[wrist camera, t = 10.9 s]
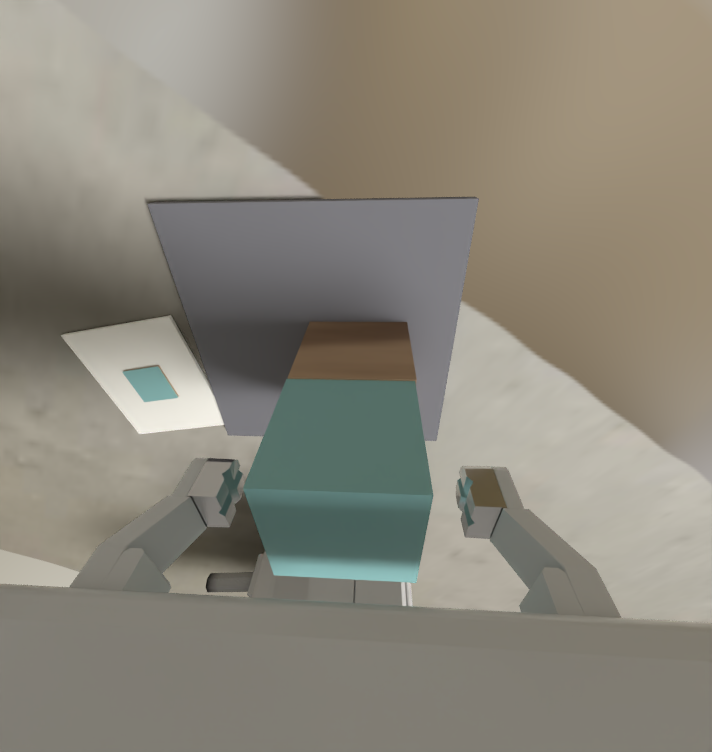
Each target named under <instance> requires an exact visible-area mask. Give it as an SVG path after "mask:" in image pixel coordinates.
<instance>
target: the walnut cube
mask: <svg viewBox="0 0 712 752" xmlns="http://www.w3.org/2000/svg"><path fill="white" fill-rule="evenodd" d="M288 379H324V380H380V381H415V384H416V381H417V378H416V372H415V366H414V360H413V354H412V348H411V342H410V336H409V330H408V324H407V322H309V325H308V327H307V330H306V332H305V335H304V337H303V340H302V342H301V345H300V348H299V350H298V353H297V355H296V358H295V360H294V363H293V365H292V368H291V370H290V373H289V375H288Z"/></svg>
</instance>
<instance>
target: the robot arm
mask: <svg viewBox="0 0 712 752" xmlns="http://www.w3.org/2000/svg"><path fill="white" fill-rule="evenodd" d="M239 467H240V464H239V462H238V460H232V459H215V458H195V459H194V460H193V461H192V462H191V464H190V466H189V467H188V469H187V471H186V472H185V474H184V476H183V477H182V479H181V481H180V482H179V484H178V486H177V487H176V489H175V491H174V492H173V494H172V496H167V497H165V498H164V499H162V500H161V501H160V502H158V503H157V504H155V505H154V506H153V507H151V508H150V509H148V510H147V511H146V512H144V513H143V514H142V515H140V516H139V517H137V518H136V519H135V520H133V521H132V522H130V523H129V524H128V525H126V526H125V527H123V528H122V529H121V530H119V531H118V532H116V533H115V534H114V535H112V536H111V537H109V538H108V539H107V540H105V541H104V542H102V543H101V544H100V545H99V546H98V547H97V549H96V550H95V551H94V553H93V554H92V556H91V557H90V558H89V560H88V561H87V563H86V564H85V566H84V567H83V568H82V570H81V571H80V573H79V574H78V575H77V577H76V578H75V580H74V581H73V583H72V584H71V585H70V587H50V586H32V585H14V584H13V585H12V584H0V752H712V623H706V622H688V621H670V620H652V619H633V618H621V616H620V614H619V612H618V610H617V608H616V606H615V604H614V602H613V600H612V598H611V596H610V594H609V593H608V591H607V589H606V587H605V585H604V583H603V581H602V579H601V577H600V575H599V573H598V571H597V569H596V568H595V567H594V566H593V565H591V564H590V563H589V562H588V561H587V560H586V559H585V558H583V557H582V556H581V555H580V554H579V553H578V552H577V551H576V550H574V549H573V548H572V547H571V546H570V545H569V544H568V543H567V542H565V541H564V540H563V539H562V538H561V537H560V536H559V535H557V534H556V533H555V532H554V531H553V530H552V529H551V528H550V527H548V526H547V525H546V524H545V523H544V522H543V521H542V520H541V519H539V518H538V517H537V516H536V515H535V514H534V513H533V512H532V511H530V510H529V509H524V506H523V504H522V502H521V499H520V497H519V494H518V492H517V490H516V487H515V485H514V482H513V480H512V478H511V475H510V473H509V470H508V469H507V468H506V467H490V466H462V467H461V468H460V472H459V473H460V477H461V478H460V479H459V480H458V481H457V485H456V499H457V504H458V508H459V509H460V510H461V511H462V512H463V513H462V516H461V522H462V527H463V531H464V535H465V537H469V538H483V539H490V541H491V542H492V543H493V545H494V546H495V547H496V548H497V550H498V551H499V552H500V553H501V555H502V556H503V557H504V558H505V560H506V561H507V562H508V563H509V565H510V566H511V567H512V568H513V570H514V571H515V572H516V573H517V575H518V576H519V577H520V578H521V579H522V581H523V582H524V583H525V584H526V586H527V587H528V588H529V589H530V590H529V591H528V593H527V595H526V596H525V598H524V599H523V601H522V602H521V604H520V605H519V606H520V610H521V612H506V611H488V610H470V609H451V608H433V607H415V606H397V605H379V604H361V603H343V602H325V601H306V600H288V599H270V598H252V597H233V596H215V595H197V594H179V593H169V590H170V588H171V586H170V583H169V581H168V580H167V579H166V578H165V576H164V575H163V574H162V573H163V572H164V571H165V570H166V569H167V568H168V567H169V566H170V565H171V564H172V563H173V562H174V561H175V560H176V559H177V558H178V557H179V556H180V555H181V554H182V553H183V552H184V551H185V550H186V549H187V548H188V547H189V546H190V545H191V544H192V543H193V542H194V541H195V540H196V539H197V538H198V537H199V536H200V535H201V534H202V533H203V532H204V531H205V530H206V529H207V528H206V527H230V525H231V523H232V520H233V518H234V515H235V513H236V507H235V505H234V504H236V503H237V502H238V501H239V500H240V499H241V497H242V494H243V492H244V490H243V487H244V485H245V481H244V476H243V473H241V472H240V471H239Z"/></svg>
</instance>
